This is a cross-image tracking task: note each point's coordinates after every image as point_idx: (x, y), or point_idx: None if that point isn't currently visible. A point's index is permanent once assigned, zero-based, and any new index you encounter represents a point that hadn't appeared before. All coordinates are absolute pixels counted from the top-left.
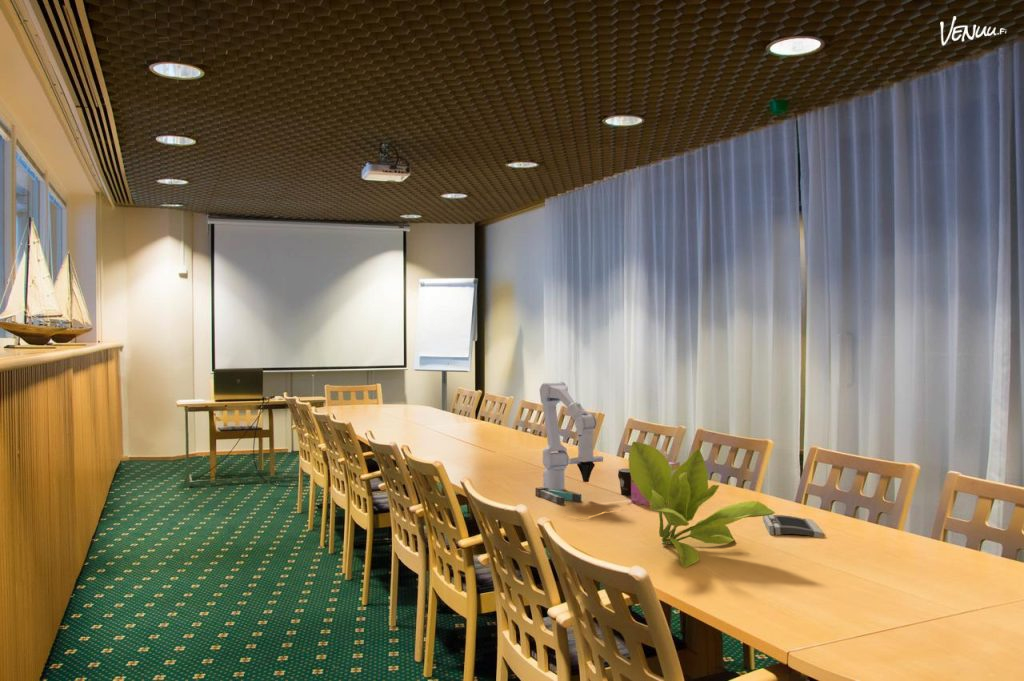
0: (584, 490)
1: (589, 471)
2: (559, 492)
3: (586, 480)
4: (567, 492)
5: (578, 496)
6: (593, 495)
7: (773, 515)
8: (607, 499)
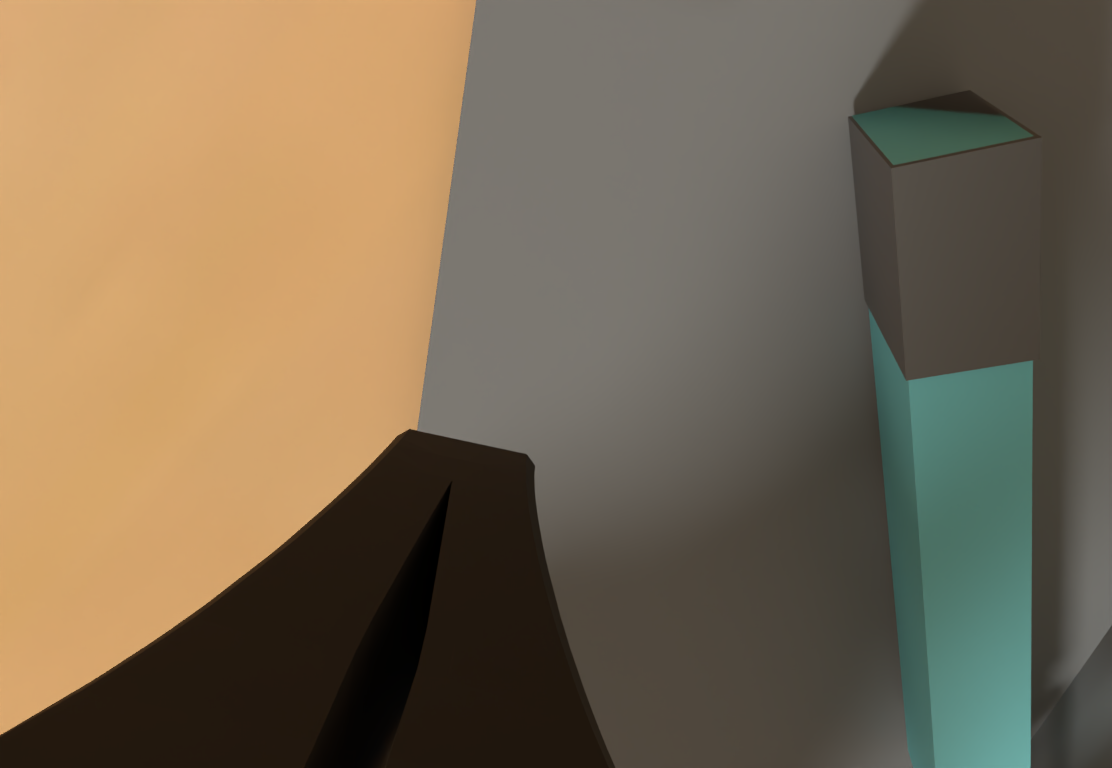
0: None
1: (259, 722)
2: (1025, 663)
3: (509, 473)
4: (945, 546)
5: (1025, 133)
6: (134, 465)
7: None
8: (50, 17)
